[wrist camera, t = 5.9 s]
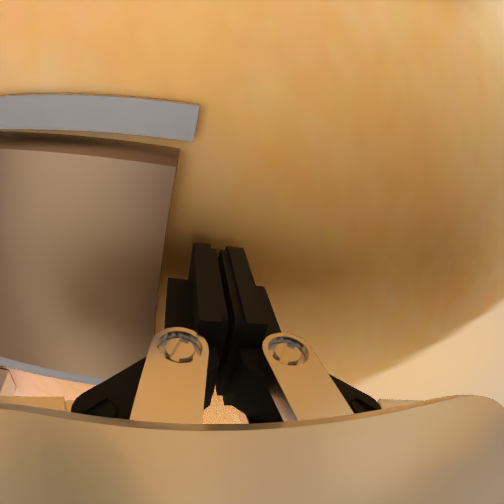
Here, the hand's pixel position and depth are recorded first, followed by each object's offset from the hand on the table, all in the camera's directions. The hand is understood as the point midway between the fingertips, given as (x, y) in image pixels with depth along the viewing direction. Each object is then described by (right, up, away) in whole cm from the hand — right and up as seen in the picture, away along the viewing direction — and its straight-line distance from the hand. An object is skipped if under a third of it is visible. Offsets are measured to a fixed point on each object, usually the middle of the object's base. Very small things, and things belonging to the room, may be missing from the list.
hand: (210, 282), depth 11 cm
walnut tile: (-7, +2, -1) cm, 7 cm away
